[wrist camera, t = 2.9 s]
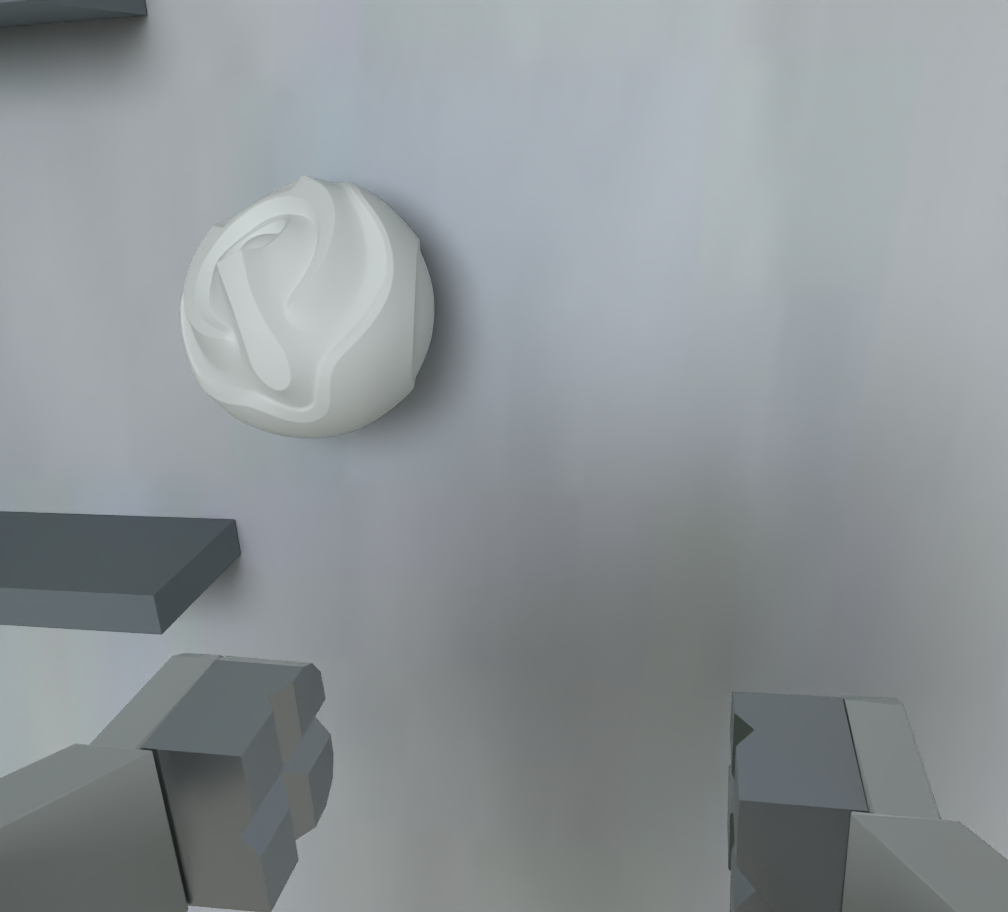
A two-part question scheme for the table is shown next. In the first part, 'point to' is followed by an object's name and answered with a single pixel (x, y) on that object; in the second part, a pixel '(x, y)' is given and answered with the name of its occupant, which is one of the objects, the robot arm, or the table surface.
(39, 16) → the box
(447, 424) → the table surface
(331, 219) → the white swirled ball
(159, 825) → the robot arm
